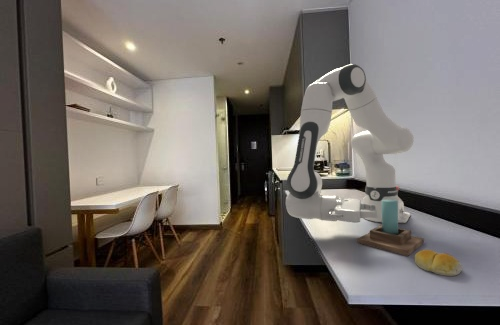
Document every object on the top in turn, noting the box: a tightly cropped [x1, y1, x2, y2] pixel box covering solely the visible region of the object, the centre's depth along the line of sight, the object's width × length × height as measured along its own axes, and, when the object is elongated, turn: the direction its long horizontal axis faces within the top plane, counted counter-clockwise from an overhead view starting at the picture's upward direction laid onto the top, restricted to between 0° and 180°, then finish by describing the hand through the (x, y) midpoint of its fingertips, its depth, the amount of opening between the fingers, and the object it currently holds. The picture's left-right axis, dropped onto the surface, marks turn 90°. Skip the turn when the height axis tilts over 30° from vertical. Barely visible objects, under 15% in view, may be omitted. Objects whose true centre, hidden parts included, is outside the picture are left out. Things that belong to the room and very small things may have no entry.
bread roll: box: [414, 249, 463, 277], centre depth 58 cm, size 8×9×4 cm
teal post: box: [381, 200, 399, 235], centre depth 75 cm, size 4×4×12 cm
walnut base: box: [357, 224, 425, 257], centre depth 75 cm, size 14×14×4 cm
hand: (376, 210), depth 76 cm, fingers open, 8 cm apart
